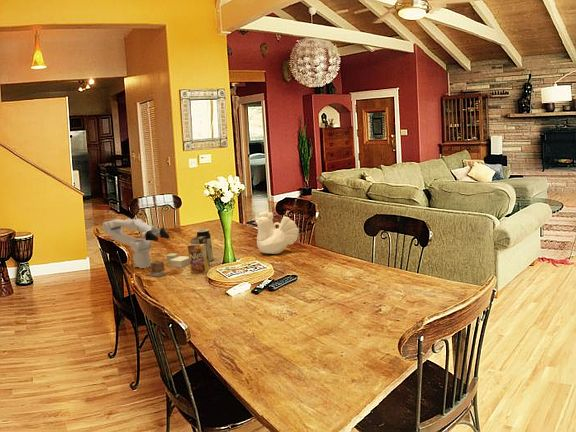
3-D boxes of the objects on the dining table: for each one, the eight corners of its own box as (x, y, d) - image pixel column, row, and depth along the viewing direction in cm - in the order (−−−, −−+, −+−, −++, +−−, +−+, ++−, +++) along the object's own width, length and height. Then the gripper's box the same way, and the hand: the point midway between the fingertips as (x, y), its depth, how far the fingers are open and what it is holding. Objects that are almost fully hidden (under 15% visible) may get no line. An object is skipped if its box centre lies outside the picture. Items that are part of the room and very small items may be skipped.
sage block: (167, 264, 314) (166, 255, 314) (171, 261, 319) (170, 253, 318) (175, 263, 313) (174, 255, 312) (179, 261, 318) (178, 253, 317)
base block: (170, 266, 308) (169, 260, 308) (181, 262, 316) (180, 256, 315) (181, 268, 303) (180, 261, 303) (192, 263, 311) (192, 257, 310)
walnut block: (151, 271, 300) (150, 263, 299) (158, 269, 304) (157, 260, 303) (157, 272, 297) (156, 263, 296) (164, 270, 301) (163, 261, 300)
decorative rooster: (253, 256, 314) (249, 214, 310) (265, 249, 328) (261, 209, 324) (293, 257, 304) (289, 213, 300) (303, 250, 318) (299, 208, 314)
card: (145, 275, 292) (145, 274, 292) (155, 272, 298) (155, 271, 298) (158, 277, 287) (158, 276, 287) (168, 273, 292) (168, 273, 292)
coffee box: (204, 268, 298) (201, 239, 295) (193, 268, 299) (189, 239, 296) (210, 263, 307) (206, 235, 304) (199, 263, 308) (195, 236, 305)
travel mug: (196, 262, 312) (193, 231, 309) (203, 258, 319) (200, 228, 316) (208, 262, 309) (205, 231, 306) (215, 258, 316) (212, 228, 313)
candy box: (190, 273, 290) (186, 245, 287) (193, 270, 294) (190, 243, 291) (205, 273, 287) (202, 245, 284) (208, 270, 291) (205, 243, 288)
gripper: (137, 225, 298) (153, 233, 290) (158, 221, 309) (174, 229, 302) (136, 237, 300) (151, 245, 292) (157, 233, 311) (172, 241, 304)
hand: (163, 238), depth 297 cm, fingers open, 7 cm apart
